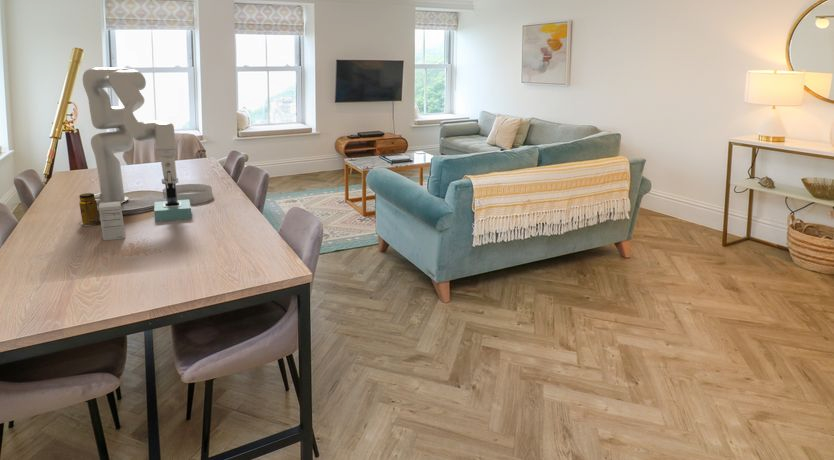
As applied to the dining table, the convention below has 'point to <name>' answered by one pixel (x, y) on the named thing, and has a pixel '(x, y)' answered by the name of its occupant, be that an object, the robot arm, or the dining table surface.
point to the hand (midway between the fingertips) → (171, 195)
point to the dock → (172, 211)
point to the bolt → (174, 200)
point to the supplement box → (111, 220)
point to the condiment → (89, 210)
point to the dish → (192, 193)
